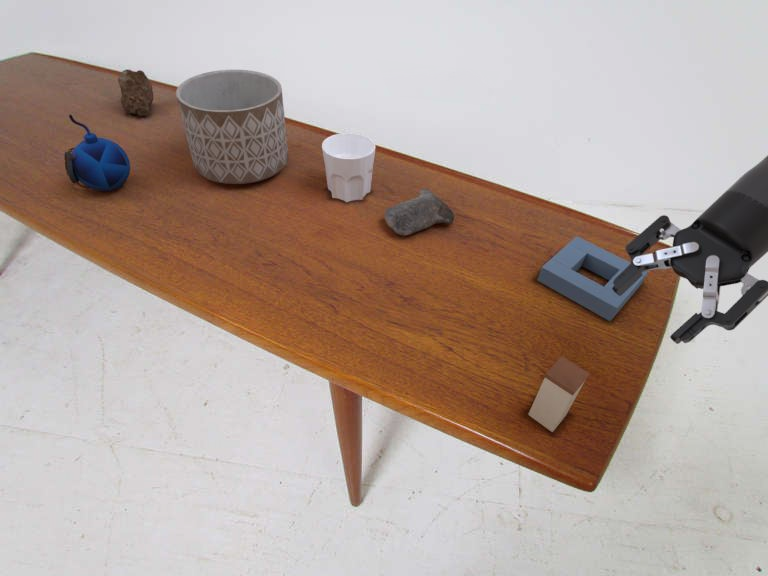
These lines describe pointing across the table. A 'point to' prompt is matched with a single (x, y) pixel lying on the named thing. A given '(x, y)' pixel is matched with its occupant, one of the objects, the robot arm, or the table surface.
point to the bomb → (97, 162)
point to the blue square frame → (582, 289)
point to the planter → (234, 125)
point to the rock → (135, 92)
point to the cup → (348, 165)
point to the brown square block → (557, 393)
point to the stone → (418, 213)
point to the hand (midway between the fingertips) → (643, 315)
